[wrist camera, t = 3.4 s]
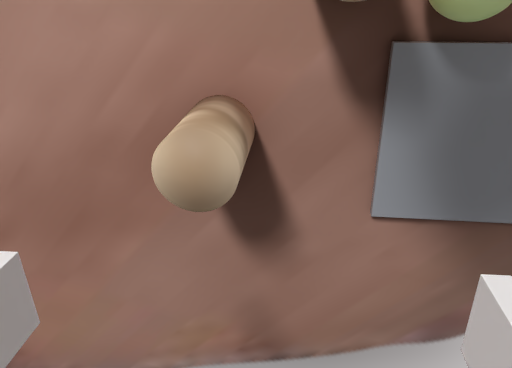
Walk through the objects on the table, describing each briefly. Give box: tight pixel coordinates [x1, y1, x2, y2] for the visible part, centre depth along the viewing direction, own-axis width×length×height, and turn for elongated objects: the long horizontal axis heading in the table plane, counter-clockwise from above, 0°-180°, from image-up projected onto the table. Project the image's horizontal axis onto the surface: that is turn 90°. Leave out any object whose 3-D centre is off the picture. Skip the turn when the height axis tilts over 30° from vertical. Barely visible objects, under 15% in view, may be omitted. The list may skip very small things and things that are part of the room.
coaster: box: [370, 41, 512, 223], centre depth 25 cm, size 11×11×1 cm
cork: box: [151, 95, 255, 212], centre depth 24 cm, size 4×4×7 cm
